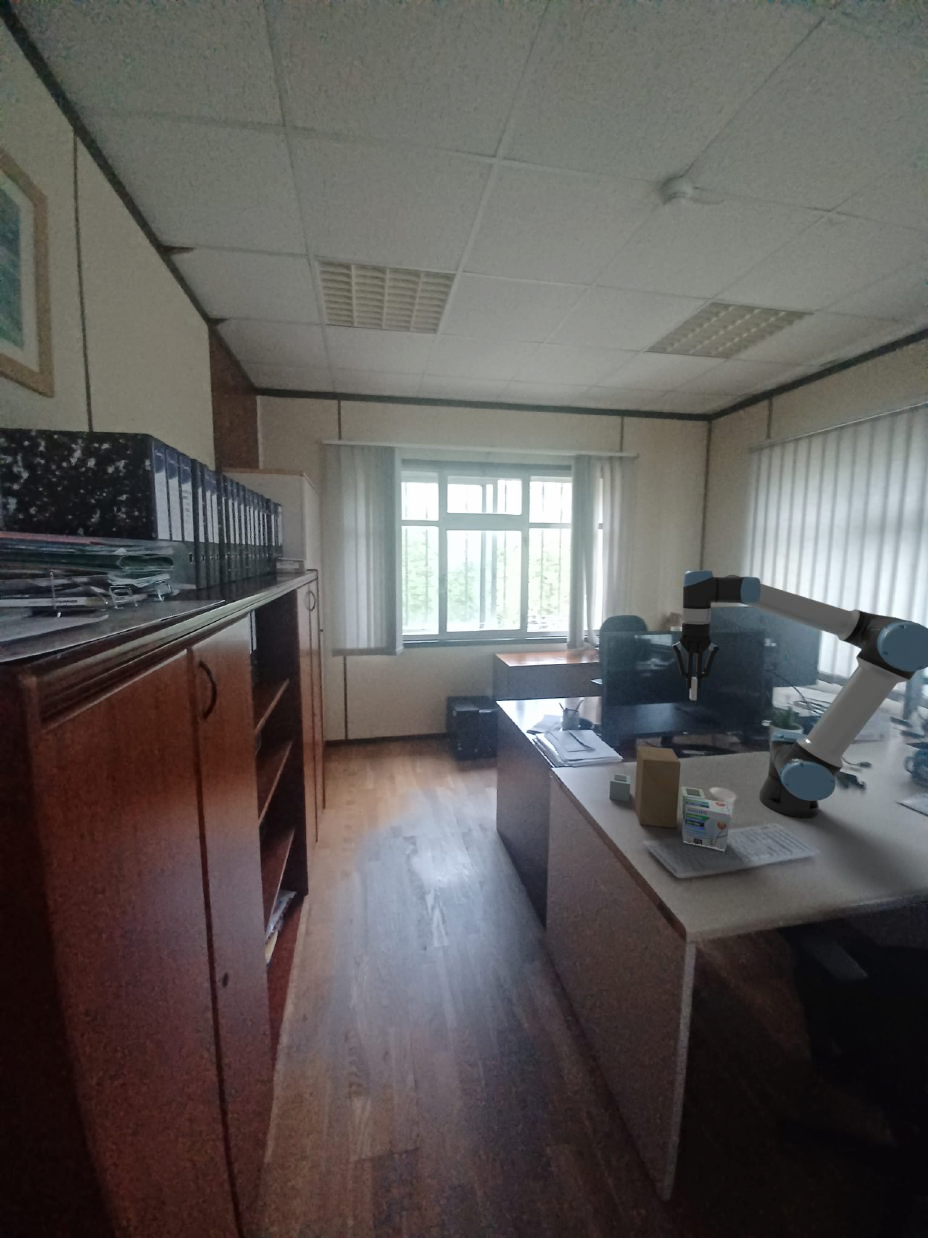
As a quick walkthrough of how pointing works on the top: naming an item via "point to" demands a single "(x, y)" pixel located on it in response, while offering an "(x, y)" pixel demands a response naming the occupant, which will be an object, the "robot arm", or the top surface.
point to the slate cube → (620, 787)
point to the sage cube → (692, 793)
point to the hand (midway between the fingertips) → (692, 698)
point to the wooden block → (657, 786)
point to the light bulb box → (705, 822)
